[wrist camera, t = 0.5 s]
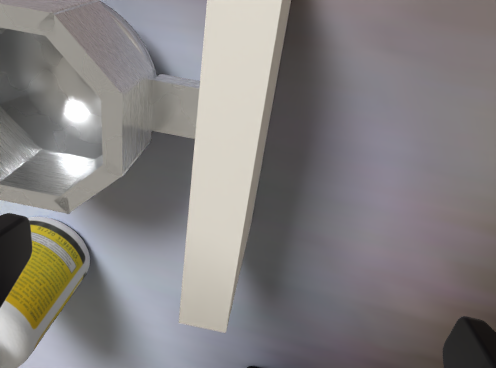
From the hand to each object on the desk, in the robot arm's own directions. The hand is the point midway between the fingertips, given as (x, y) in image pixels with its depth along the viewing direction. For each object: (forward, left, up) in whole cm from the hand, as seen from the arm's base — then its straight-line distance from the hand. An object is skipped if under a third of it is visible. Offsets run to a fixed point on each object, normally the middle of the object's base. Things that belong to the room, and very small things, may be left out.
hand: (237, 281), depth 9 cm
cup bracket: (-1, +8, -12) cm, 15 cm away
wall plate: (-1, +1, -14) cm, 14 cm away
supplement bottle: (-13, +13, -14) cm, 23 cm away
